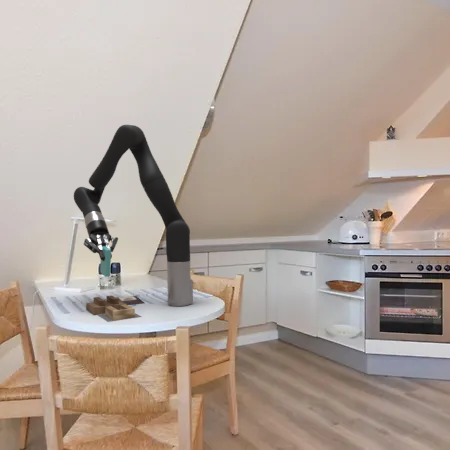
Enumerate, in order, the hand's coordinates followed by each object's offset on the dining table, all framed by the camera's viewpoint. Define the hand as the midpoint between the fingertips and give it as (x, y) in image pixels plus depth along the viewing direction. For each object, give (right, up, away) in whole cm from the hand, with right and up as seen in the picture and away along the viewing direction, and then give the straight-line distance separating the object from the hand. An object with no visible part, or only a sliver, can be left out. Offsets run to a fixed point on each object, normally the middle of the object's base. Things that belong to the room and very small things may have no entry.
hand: (107, 259), depth 160 cm
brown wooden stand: (-1, -20, +2) cm, 20 cm away
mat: (+6, -20, -7) cm, 22 cm away
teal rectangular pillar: (-1, -6, +2) cm, 6 cm away
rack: (+6, -19, -7) cm, 22 cm away
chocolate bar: (+4, -20, +21) cm, 29 cm away
